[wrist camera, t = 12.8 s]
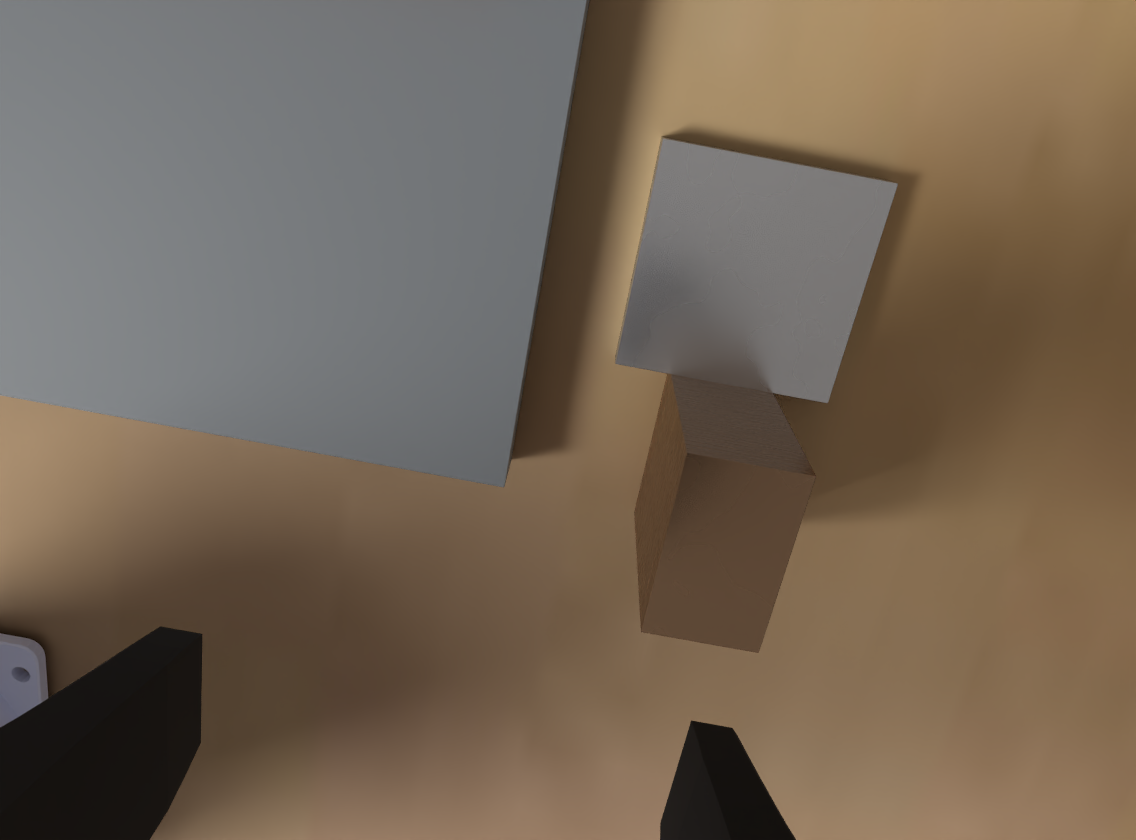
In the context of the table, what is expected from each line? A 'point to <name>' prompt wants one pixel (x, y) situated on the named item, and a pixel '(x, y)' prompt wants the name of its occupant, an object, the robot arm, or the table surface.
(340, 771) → the table surface
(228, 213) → the board
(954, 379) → the table surface
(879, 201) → the turner
